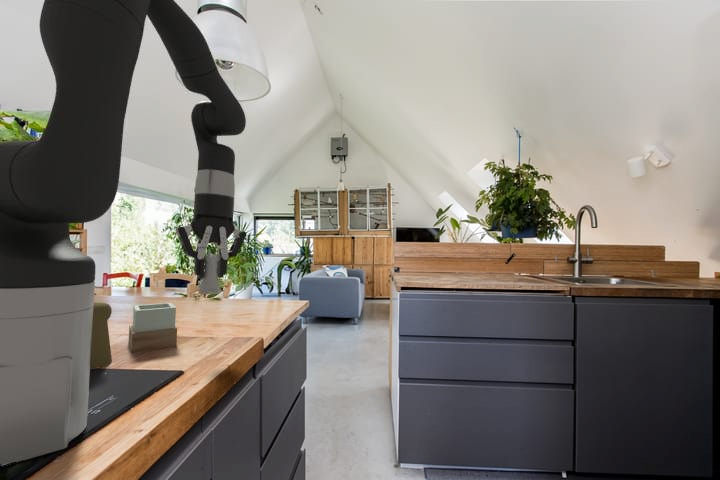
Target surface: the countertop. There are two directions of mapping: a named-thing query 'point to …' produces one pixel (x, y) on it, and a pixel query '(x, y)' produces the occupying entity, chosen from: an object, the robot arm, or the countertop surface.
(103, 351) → the olive tapered piece
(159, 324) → the sage top block
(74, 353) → the robot arm
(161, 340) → the walnut base block
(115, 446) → the countertop surface
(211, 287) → the rook chess piece
